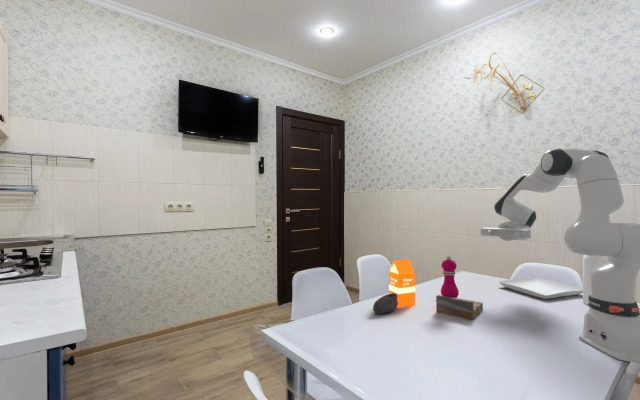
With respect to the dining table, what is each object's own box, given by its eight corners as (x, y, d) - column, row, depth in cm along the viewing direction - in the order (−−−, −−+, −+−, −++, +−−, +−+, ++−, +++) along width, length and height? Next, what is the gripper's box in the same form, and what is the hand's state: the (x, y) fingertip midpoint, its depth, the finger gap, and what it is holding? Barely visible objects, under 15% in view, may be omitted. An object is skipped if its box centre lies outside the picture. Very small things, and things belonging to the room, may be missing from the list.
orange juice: (415, 305, 145) (415, 260, 145) (399, 307, 142) (398, 262, 142) (404, 300, 152) (404, 258, 153) (388, 302, 149) (388, 259, 149)
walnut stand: (449, 303, 148) (449, 287, 148) (482, 309, 139) (482, 293, 139) (436, 312, 135) (436, 295, 135) (472, 320, 126) (472, 302, 126)
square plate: (497, 287, 175) (496, 280, 175) (535, 283, 183) (534, 276, 183) (545, 302, 149) (545, 294, 149) (587, 296, 157) (587, 288, 157)
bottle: (578, 301, 148) (577, 236, 148) (594, 301, 149) (593, 236, 149) (593, 307, 140) (592, 238, 140) (611, 307, 141) (610, 238, 141)
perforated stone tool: (378, 318, 130) (378, 300, 130) (368, 314, 134) (368, 297, 134) (401, 310, 139) (401, 294, 139) (392, 307, 143) (391, 291, 143)
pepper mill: (455, 300, 142) (454, 254, 142) (461, 305, 134) (460, 257, 135) (438, 300, 142) (437, 254, 143) (443, 305, 135) (442, 257, 136)
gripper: (484, 223, 161) (476, 225, 150) (532, 225, 148) (528, 227, 137) (484, 236, 161) (476, 239, 150) (533, 239, 148) (528, 242, 137)
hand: (501, 233), depth 143 cm, fingers open, 8 cm apart
